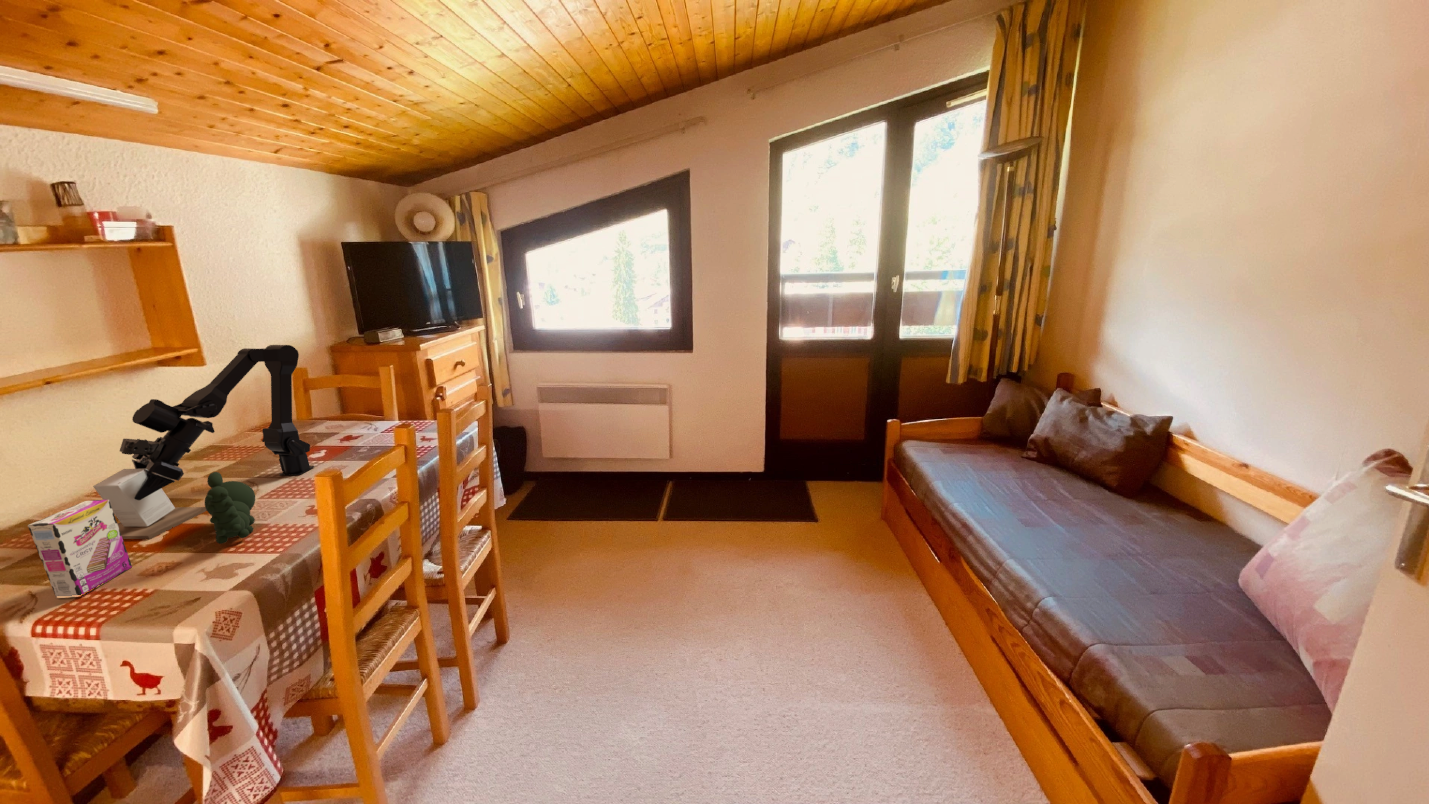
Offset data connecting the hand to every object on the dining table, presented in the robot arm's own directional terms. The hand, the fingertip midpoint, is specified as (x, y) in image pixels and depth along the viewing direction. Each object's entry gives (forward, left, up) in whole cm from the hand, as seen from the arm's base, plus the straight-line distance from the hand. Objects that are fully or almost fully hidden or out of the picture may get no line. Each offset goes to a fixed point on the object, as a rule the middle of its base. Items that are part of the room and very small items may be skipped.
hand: (132, 495), depth 134 cm
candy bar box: (-16, +24, -9) cm, 30 cm away
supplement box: (-1, -2, -7) cm, 7 cm away
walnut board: (-1, -1, -9) cm, 9 cm away
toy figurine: (-27, +3, -9) cm, 28 cm away
